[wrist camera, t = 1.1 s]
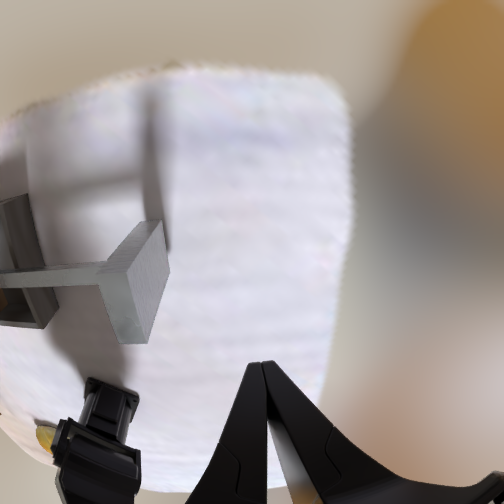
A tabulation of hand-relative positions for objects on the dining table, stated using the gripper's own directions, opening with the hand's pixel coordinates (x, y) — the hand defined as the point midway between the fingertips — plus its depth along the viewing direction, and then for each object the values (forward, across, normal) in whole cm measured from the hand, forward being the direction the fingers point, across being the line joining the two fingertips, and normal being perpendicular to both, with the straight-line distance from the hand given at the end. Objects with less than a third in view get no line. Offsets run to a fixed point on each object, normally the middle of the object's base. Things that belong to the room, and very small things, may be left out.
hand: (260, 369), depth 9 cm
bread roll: (+14, +35, +34) cm, 51 cm away
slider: (+12, +20, 0) cm, 23 cm away
